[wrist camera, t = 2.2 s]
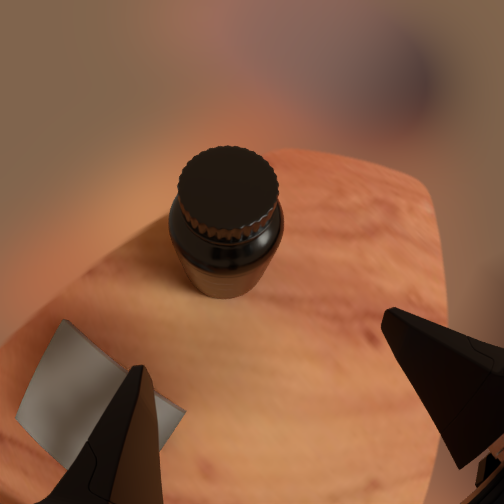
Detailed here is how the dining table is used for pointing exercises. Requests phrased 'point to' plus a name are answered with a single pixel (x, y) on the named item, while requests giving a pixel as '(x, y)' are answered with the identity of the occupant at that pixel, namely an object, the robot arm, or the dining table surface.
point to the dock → (77, 395)
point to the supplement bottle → (226, 220)
